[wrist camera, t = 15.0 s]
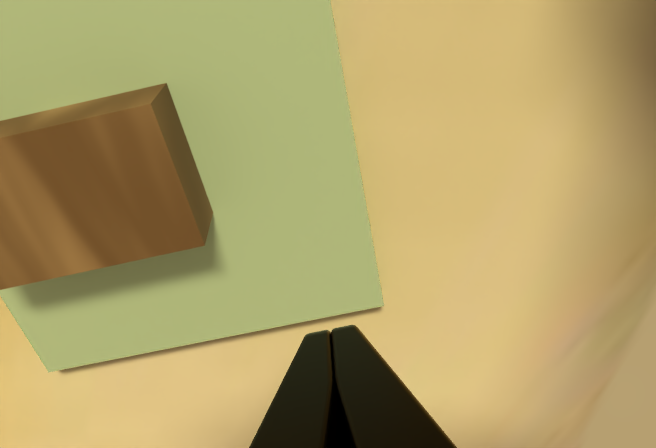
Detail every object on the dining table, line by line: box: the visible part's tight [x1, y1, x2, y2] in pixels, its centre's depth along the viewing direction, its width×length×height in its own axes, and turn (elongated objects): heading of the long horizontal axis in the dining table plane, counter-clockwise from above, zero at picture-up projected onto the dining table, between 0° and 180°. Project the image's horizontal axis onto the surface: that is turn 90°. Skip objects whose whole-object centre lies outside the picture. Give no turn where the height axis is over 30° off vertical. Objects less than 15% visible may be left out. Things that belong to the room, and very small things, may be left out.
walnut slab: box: [0, 83, 213, 290], centre depth 18 cm, size 2×5×8 cm
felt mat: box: [0, 0, 384, 372], centre depth 19 cm, size 15×17×1 cm
